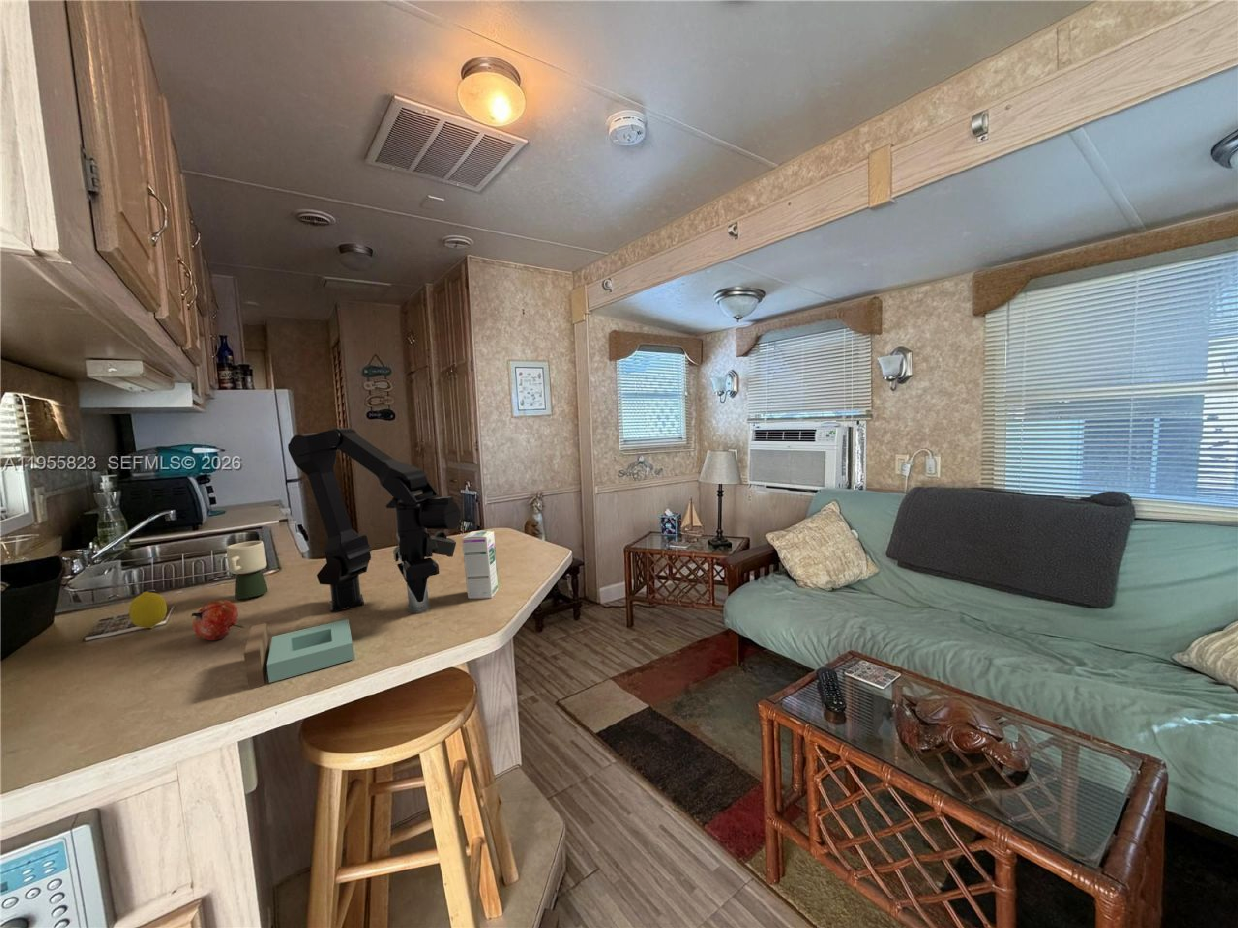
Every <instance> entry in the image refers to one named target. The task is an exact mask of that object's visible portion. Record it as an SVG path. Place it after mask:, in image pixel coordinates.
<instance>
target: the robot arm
mask: <svg viewBox="0 0 1238 928" xmlns="http://www.w3.org/2000/svg"><path fill="white" fill-rule="evenodd" d="M287 446H288V447H287V448H288V452H289V454H290V456H291V458H292V461H293V462H294V465H295V466H296V467H297V468H298V469H300V471H302V472H303V474H305V475H306V476H307V477H308V480H309V484H310V487H311V490H312V493H313V496H314V500H315V501H316V502H315V503H316V505H317V508H318V510H319V515H320V517H321V520H322V522H323V525H324V529H325V532H326V535H327V542H326V546H325V549H324V557H325V561H326V563H325V564H324V565H323V567H322V568H321V569H320V571H319V572H318V573H317V575H316V577H317V580H318V582H319V584H320V585H328V586H329V590H330V598H331V600H330V601H329V608H330V612H332V613H333V612H336V611H341V610H346V609H350V608H354V607H359V606H363V605H365V601H364V598H363V594H361V587H360V586H361V584H360V578H359V577H360V575H362V574H364V573H365V574H366V573H367V572H368V571H367V570H368V567H369V563H370V561H371V560H372V554H371V553H372V551H373V549H372V547H370V544H369V541H368V536H367V535H366V534H362V535H360V534H358V533H357V532H356V531H355V530H354V529H353V526H352V523H351V520H350V519H351V518H350V516H349V514H348V510H347V508H346V505H345V502H344V498H343V495H342V492H341V489H340V486H339V484H338V480H337V477H336V474H335V470H334V468H335V465H336V461H337V451H340V452H342V453H343V454H344V455H346V456H347V457H349V458H351V459H352V461H354V462H356V463H357V464H359V465H360V466H361V467H363V468H365V469H366V470H368V471H369V472H370V473H371V474H373V475H374V476H376V477H377V478H378V480H379V483H380V485H381V487H382V488H383V489H384V490H385V491H386V492H387V493H388V494H389V495H390V496H391V497H392V498H391V500H389V501H388V503H387V504H385V508H386V509H394V510H395V521H396V530H397V532H396V533H395V534H396V539H397V543H398V545H397V546H396V547H395V548H394V549H393V560H394V561H395V562H399V561H400V563H397V564H396V566H397V568H398V570H399V571H400V573H401V574H402V577H403V579H404V580H405V582H406V585H407V584H408V586H409V587H410V589H411V591H412V593H413V595H414V596H415V598H416V600H417V602H422V601H423V599H424V594H425V588H426V583H427V584H428V579H429V578H430V577H433V576H437V575H439V574H440V565H439V563H438V562H437V561H436V560H435V559H433V558H432V557H433V556H434V554H435V555H436V554H437V555H443V556H446V557H449V558H450V557H453V556H454V552H455V549H456V546H457V542H456V541H455V540H454V539H453V538H450V537H447V534H446V533H445V532H444V531H439V530H454V529H456V528H457V527H458V526H459V524H460V522H461V516H462V515H461V514H462V513H461V509H460V507H459V506H458V503H456V502H455V501H454V496H452V495H448V496H440V495H439V493H438V491H437V490H436V489H435V487H434V486H433V485H432V483H431V482H430V481H429V480H428V478H427V474H426V472H425V471H424V470H422V469H421V468H419V467H416V466H414V465H412V464H409V463H406V462H403V461H399V460H396V459H394V458H392V457H391V456H389V455H388V454H386V453H385V452H384V451H382V450H381V449H379V448H378V447H377V446H375V445H374V444H372V443H371V442H370V441H368V440H366V439H365V438H363V437H362V436H360V435H359V434H358V433H357V431H356V430H354V429H352V428H350V427H340V428H332V429H330V430H327V431H322V432H319V433H318V432H317V433H315V432H314V433H303V434H295V435H293V436H292V438H290V441H289V443H288V444H287ZM428 530H437V531H436V532H435V534H434V535H431V533H430V532H428Z"/></svg>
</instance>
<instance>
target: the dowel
mask: <svg viewBox="0 0 1238 928" xmlns="http://www.w3.org/2000/svg"><path fill="white" fill-rule="evenodd" d="M406 587H407V588H406V589H407V590H406V591H407V601H408V609H409V611H408V612H409V613H410V614H412V615H414V614H415V615H417V614H423V613H426V612H427V611H429V610H430V599H429V589H428V582H427V583H426V588H425V594H424V599H423V601H422V602H417V600H416V598H415V596H414V595H413V593H412V591H411V589H410V587H409V586H408V584H407V583H406Z"/></svg>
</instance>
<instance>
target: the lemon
mask: <svg viewBox="0 0 1238 928" xmlns="http://www.w3.org/2000/svg"><path fill="white" fill-rule="evenodd" d="M167 612H168V607H167V603H166V600H165V598H164V597H163V596H162V595H160V594H158V593H156V592H149V591H143V592H142V593H141V594H140V595H138V596H136V597H135V598H134V599H133V600H132V601H131V603H130V605H129V608H128V615H129V619H130V621H131V622H132V624H134V625H135V626H136V627H139V628H145V629H146V628H147V629H148V628H150V627H153V626H155V627H156V625H158V624H159V623H161V622H162V621H163V620H164V619H165V617H166V616H167Z"/></svg>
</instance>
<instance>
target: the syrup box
mask: <svg viewBox="0 0 1238 928" xmlns="http://www.w3.org/2000/svg"><path fill="white" fill-rule="evenodd" d="M461 539H462V550H463V559H464V568H465V579H466V590H467V599H469V600H470V599H471V600H478V599H479V600H480V599H493V598H494V595H496V593H497V592H498V590H499V589H500V584H499V581H500V580H499V572H498V571H499V570H498V559H497V551H496V550H497V549H496V541H495V539H496V537H495V531H494V530H488V529H487V530H476V531H475V530H474V531H470V533H468V534H467V535H465V536H464V537H462V538H461Z"/></svg>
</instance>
